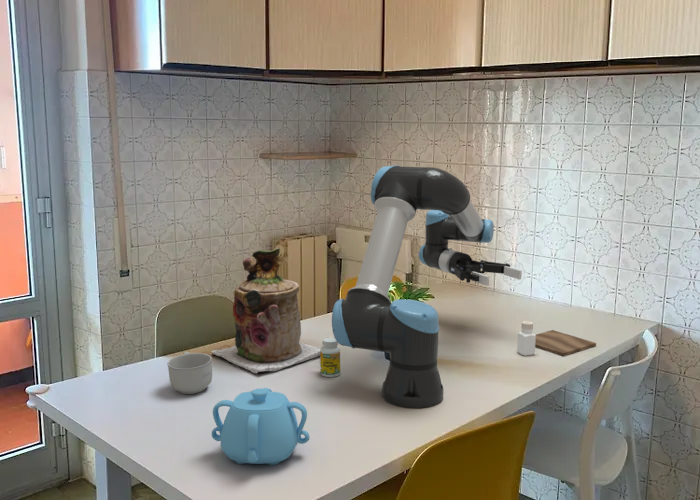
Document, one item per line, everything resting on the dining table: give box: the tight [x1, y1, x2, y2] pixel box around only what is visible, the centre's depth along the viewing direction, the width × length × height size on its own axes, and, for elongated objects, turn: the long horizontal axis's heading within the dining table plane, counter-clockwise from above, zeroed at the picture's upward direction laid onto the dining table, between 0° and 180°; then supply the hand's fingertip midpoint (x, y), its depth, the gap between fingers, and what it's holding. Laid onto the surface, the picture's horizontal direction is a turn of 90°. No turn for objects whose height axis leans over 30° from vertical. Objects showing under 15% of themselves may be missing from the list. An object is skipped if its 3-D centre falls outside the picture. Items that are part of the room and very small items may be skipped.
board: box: [535, 329, 597, 357], centre depth 209 cm, size 16×16×1 cm
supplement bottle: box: [319, 337, 341, 378], centre depth 182 cm, size 5×5×10 cm
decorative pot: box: [211, 387, 310, 466], centre depth 138 cm, size 16×16×14 cm
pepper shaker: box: [516, 320, 536, 356], centre depth 199 cm, size 4×4×10 cm
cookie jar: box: [210, 247, 321, 374], centre depth 194 cm, size 25×25×32 cm
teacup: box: [166, 351, 213, 395], centre depth 172 cm, size 14×11×8 cm
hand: (504, 278), depth 202 cm, fingers open, 13 cm apart
